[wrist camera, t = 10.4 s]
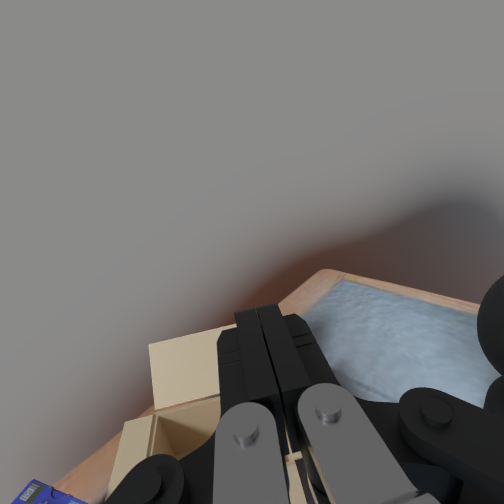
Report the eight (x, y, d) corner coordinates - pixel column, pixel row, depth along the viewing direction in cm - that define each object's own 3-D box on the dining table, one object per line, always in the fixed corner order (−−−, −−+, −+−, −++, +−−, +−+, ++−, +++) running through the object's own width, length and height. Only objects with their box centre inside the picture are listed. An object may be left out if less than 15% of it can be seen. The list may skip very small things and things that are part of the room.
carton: (303, 419, 49) (297, 374, 44) (369, 606, 30) (370, 558, 25) (147, 461, 47) (126, 418, 42) (111, 691, 28) (64, 655, 23)
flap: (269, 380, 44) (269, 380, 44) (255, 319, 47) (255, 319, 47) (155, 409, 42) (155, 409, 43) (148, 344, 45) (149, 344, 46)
